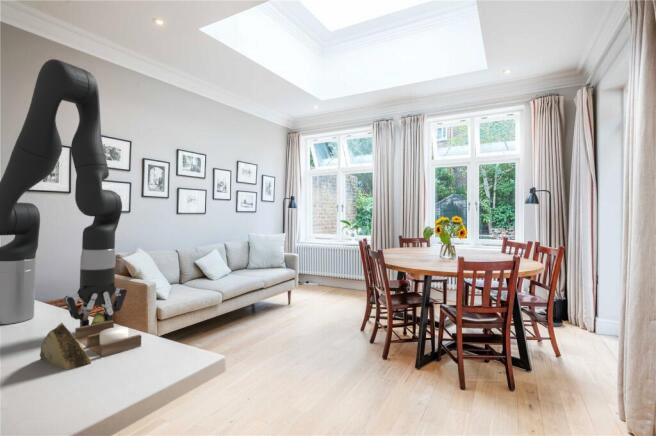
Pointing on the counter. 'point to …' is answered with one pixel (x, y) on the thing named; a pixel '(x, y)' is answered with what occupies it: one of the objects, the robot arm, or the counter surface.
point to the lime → (98, 318)
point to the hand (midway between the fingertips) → (96, 330)
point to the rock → (63, 349)
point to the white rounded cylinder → (113, 334)
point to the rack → (92, 341)
